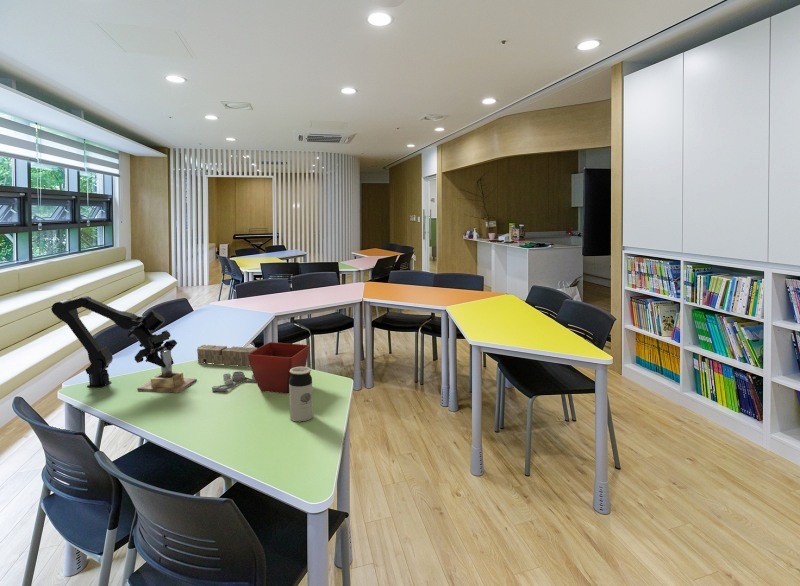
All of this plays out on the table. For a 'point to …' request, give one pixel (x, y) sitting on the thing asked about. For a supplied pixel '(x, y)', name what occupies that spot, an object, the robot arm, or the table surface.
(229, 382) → the pulley system
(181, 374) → the socket board
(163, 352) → the metal pin
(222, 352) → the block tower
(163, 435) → the table surface
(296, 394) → the travel mug
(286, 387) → the plant pot
